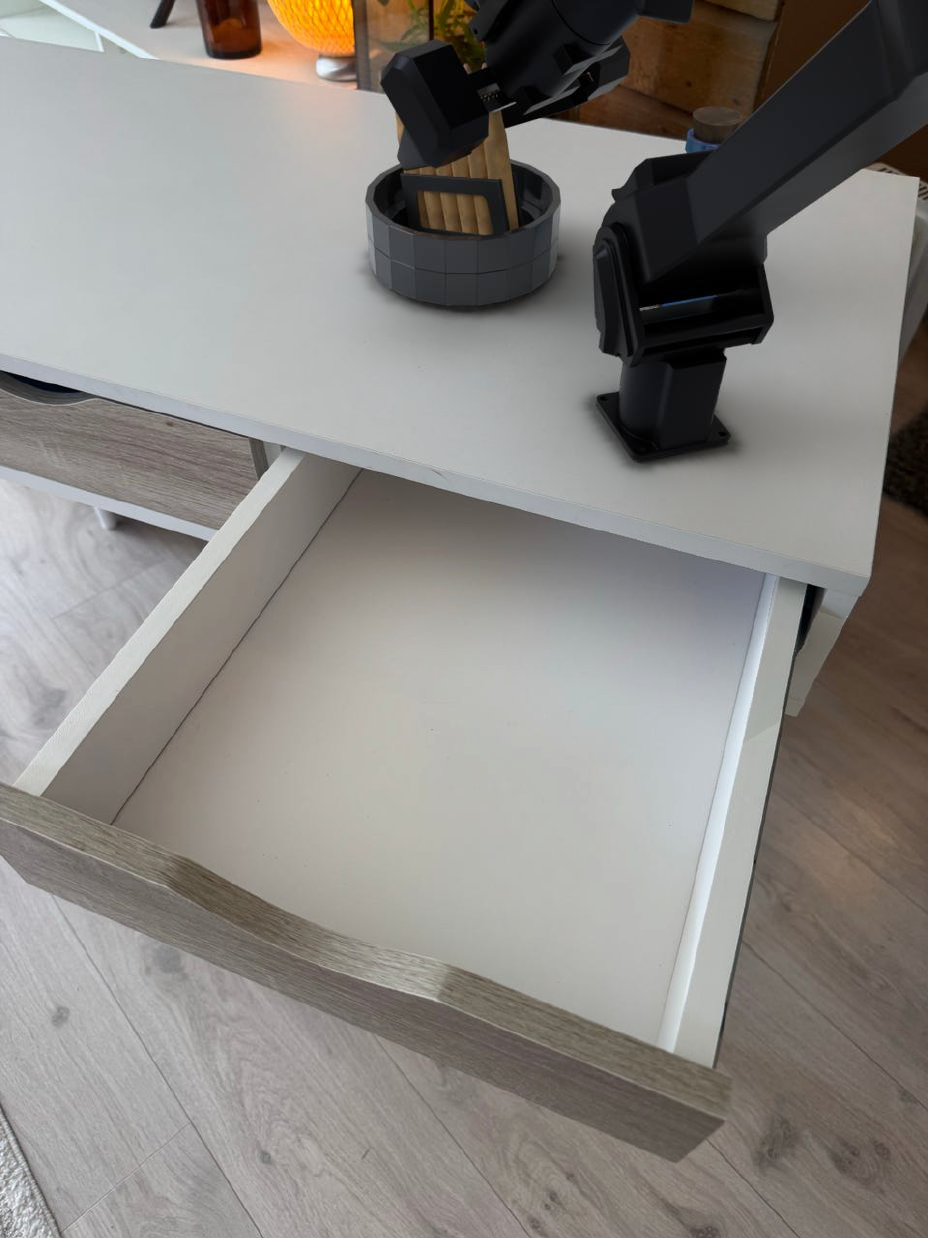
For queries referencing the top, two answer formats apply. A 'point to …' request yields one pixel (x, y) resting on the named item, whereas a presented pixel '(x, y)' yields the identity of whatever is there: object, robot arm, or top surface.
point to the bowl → (463, 246)
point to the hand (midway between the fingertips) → (448, 143)
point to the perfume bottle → (710, 138)
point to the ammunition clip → (466, 189)
